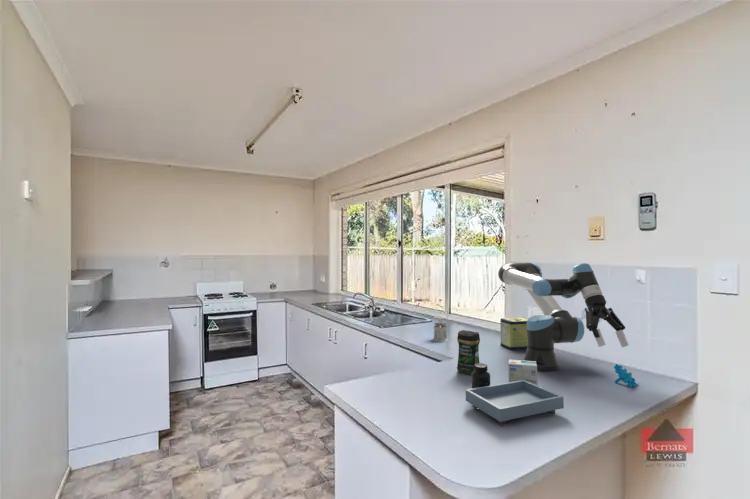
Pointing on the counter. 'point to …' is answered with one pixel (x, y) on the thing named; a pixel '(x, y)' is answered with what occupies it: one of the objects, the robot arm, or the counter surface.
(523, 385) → the tote
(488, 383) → the supplement bottle
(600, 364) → the counter surface
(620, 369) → the gear
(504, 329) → the protein box
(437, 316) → the french press
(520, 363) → the light bulb box
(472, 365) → the coffee jar
